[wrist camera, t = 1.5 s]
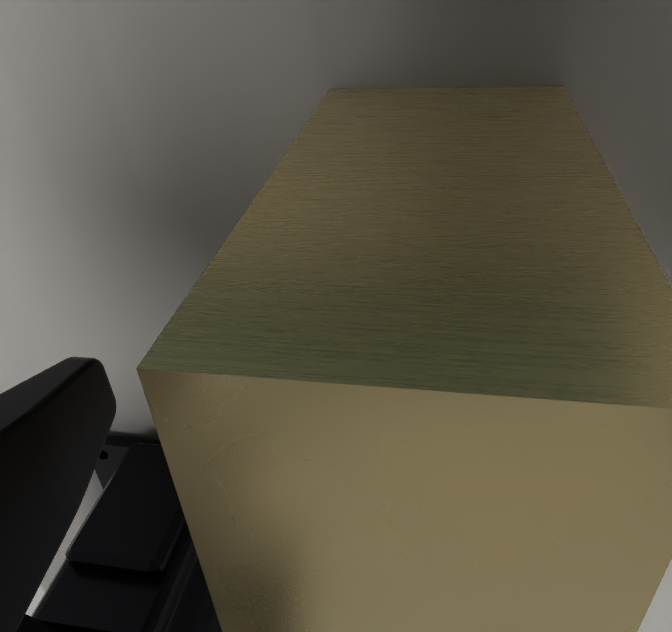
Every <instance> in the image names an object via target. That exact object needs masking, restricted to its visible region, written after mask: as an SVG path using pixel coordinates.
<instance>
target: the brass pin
mask: <svg viewBox="0 0 672 632" xmlns="http://www.w3.org/2000/svg"><path fill="white" fill-rule="evenodd" d="M137 371H138V374H139V378H140V381H141V384H142V387H143V390H144V393H145V396H146V399H147V402H148V405H149V408H150V411H151V414H152V417H153V421H154V424H155V427H156V430H157V433H158V436H159V439H160V442H161V445H162V448H163V451H164V454H165V457H166V460H167V463H168V467H169V470H170V473H171V476H172V479H173V482H174V485H175V488H176V491H177V494H178V497H179V500H180V503H181V506H182V509H183V513H184V516H185V519H186V522H187V525H188V528H189V531H190V534H191V537H192V540H193V543H194V546H195V549H196V552H197V555H198V559H199V562H200V565H201V568H202V571H203V574H204V577H205V580H206V583H207V586H208V589H209V592H210V595H211V598H212V601H213V605H214V608H215V611H216V614H217V617H218V620H219V623H220V626H221V629H222V632H637V631H638V629H639V627H640V625H641V623H642V620H643V618H644V616H645V614H646V612H647V610H648V608H649V605H650V603H651V601H652V599H653V597H654V595H655V593H656V590H657V588H658V586H659V584H660V582H661V580H662V578H663V576H664V573H665V571H666V569H667V567H668V565H669V563H670V561H671V558H672V288H671V286H670V284H669V282H668V281H667V279H666V277H665V275H664V273H663V271H662V269H661V268H660V266H659V264H658V262H657V260H656V258H655V256H654V254H653V253H652V251H651V249H650V247H649V245H648V243H647V241H646V240H645V238H644V236H643V234H642V232H641V230H640V228H639V226H638V225H637V223H636V221H635V219H634V217H633V215H632V213H631V212H630V210H629V208H628V206H627V204H626V202H625V200H624V198H623V197H622V195H621V193H620V191H619V189H618V187H617V185H616V184H615V182H614V180H613V178H612V176H611V174H610V172H609V170H608V169H607V167H606V165H605V163H604V161H603V159H602V157H601V156H600V154H599V152H598V150H597V148H596V146H595V144H594V143H593V141H592V139H591V137H590V135H589V133H588V131H587V129H586V128H585V126H584V124H583V122H582V120H581V118H580V116H579V115H578V113H577V111H576V109H575V107H574V105H573V103H572V101H571V100H570V98H569V96H568V94H567V92H566V90H565V88H564V87H563V86H521V87H444V88H367V89H330V90H329V91H328V93H327V94H326V96H325V97H324V98H323V100H322V101H321V103H320V104H319V106H318V107H317V109H316V110H315V111H314V113H313V114H312V116H311V117H310V119H309V120H308V122H307V123H306V124H305V126H304V127H303V129H302V130H301V132H300V133H299V135H298V136H297V137H296V139H295V140H294V142H293V143H292V145H291V146H290V148H289V149H288V150H287V152H286V153H285V155H284V156H283V158H282V159H281V161H280V162H279V163H278V165H277V166H276V168H275V169H274V171H273V172H272V174H271V175H270V176H269V178H268V179H267V181H266V182H265V184H264V185H263V187H262V188H261V189H260V191H259V192H258V194H257V195H256V197H255V198H254V200H253V201H252V202H251V204H250V205H249V207H248V208H247V210H246V211H245V213H244V214H243V215H242V217H241V218H240V220H239V221H238V223H237V224H236V226H235V227H234V228H233V230H232V231H231V233H230V234H229V236H228V237H227V239H226V240H225V241H224V243H223V244H222V246H221V247H220V249H219V250H218V251H217V253H216V254H215V256H214V257H213V259H212V260H211V262H210V263H209V264H208V266H207V267H206V269H205V270H204V272H203V273H202V275H201V276H200V277H199V279H198V280H197V282H196V283H195V285H194V286H193V288H192V289H191V290H190V292H189V293H188V295H187V296H186V298H185V299H184V301H183V302H182V303H181V305H180V306H179V308H178V309H177V311H176V312H175V314H174V315H173V316H172V318H171V319H170V321H169V322H168V324H167V325H166V327H165V328H164V329H163V331H162V332H161V334H160V335H159V337H158V338H157V340H156V341H155V342H154V344H153V345H152V347H151V348H150V350H149V351H148V353H147V354H146V355H145V357H144V358H143V360H142V361H141V363H140V364H139V366H138V367H137Z"/></svg>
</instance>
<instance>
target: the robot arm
mask: <svg viewBox="0 0 672 632" xmlns="http://www.w3.org/2000/svg"><path fill="white" fill-rule="evenodd" d="M115 414H116V400H115V396H114V394H113V391H112V388H111V385H110V383H109V380H108V377H107V374H106V372H105V369H104V366H103V364H102V363H101V362H100V361H99V360H97V359H95V358H84V357H70V358H67V359H65V360H63V361H61V362H59V363H57V364H56V365H54V366H52V367H50V368H48V369H46V370H44V371H43V372H41V373H39V374H37V375H35V376H33V377H31V378H29V379H28V380H26V381H24V382H22V383H20V384H18V385H16V386H14V387H13V388H11V389H9V390H7V391H5V392H3V393H1V394H0V632H222V629H221V626H220V623H219V620H218V617H217V614H216V611H215V608H214V605H213V601H212V598H211V595H210V592H209V589H208V586H207V583H206V580H205V577H204V574H203V571H202V568H201V565H200V562H199V559H198V555H197V552H196V549H195V546H194V543H193V540H192V537H191V534H190V531H189V528H188V525H187V522H186V519H185V516H184V513H183V509H182V506H181V503H180V500H179V497H178V494H177V491H176V488H175V485H174V482H173V479H172V476H171V473H170V470H169V467H168V463H167V460H166V457H165V454H164V451H163V448H162V445H161V442H160V441H158V440H148V439H138V438H128V437H117V436H108V433H109V431H110V428H111V425H112V423H113V420H114V417H115ZM94 469H95V471H96V473H97V475H98V478H99V480H100V482H101V485H102V487H103V489H104V490H103V491H102V493H101V494H100V496H99V498H98V499H97V501H96V503H95V504H94V506H93V508H92V509H91V511H90V513H89V514H88V516H87V518H86V519H85V521H84V522H83V524H82V526H81V527H80V529H79V531H78V532H77V534H76V536H75V537H74V539H73V541H72V542H71V544H70V546H69V547H68V549H67V551H66V559H65V561H64V562H63V564H62V566H61V567H60V569H59V571H58V572H57V574H56V576H55V577H54V579H53V581H52V582H51V584H50V586H49V587H48V589H47V591H46V592H45V594H44V596H43V597H42V599H41V601H40V602H39V604H38V606H37V607H36V609H35V611H34V612H33V614H32V616H29V615H26V614H25V613H26V611H27V609H28V607H29V605H30V603H31V601H32V599H33V598H34V596H35V594H36V592H37V589H38V588H39V586H40V584H41V582H42V580H43V578H44V576H45V574H46V572H47V570H48V568H49V566H50V564H51V563H52V561H53V559H54V557H55V555H56V553H57V551H58V549H59V547H60V545H61V543H62V541H63V539H64V537H65V535H66V533H67V531H68V529H69V527H70V525H71V523H72V521H73V519H74V517H75V515H76V513H77V511H78V509H79V506H80V504H81V502H82V499H83V497H84V495H85V492H86V490H87V487H88V484H89V482H90V479H91V477H92V474H93V472H94Z"/></svg>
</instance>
